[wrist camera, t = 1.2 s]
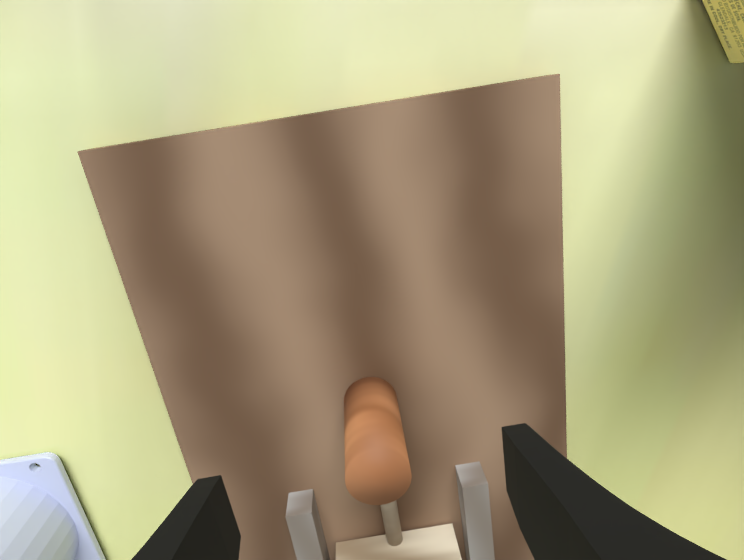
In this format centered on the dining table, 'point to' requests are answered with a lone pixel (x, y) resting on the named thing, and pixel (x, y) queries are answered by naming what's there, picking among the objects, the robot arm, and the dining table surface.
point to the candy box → (728, 26)
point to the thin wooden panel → (352, 303)
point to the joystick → (384, 478)
